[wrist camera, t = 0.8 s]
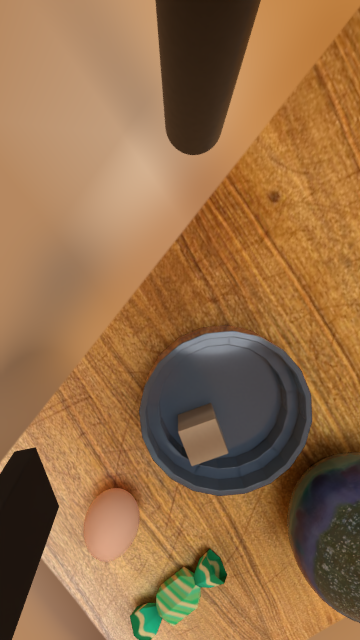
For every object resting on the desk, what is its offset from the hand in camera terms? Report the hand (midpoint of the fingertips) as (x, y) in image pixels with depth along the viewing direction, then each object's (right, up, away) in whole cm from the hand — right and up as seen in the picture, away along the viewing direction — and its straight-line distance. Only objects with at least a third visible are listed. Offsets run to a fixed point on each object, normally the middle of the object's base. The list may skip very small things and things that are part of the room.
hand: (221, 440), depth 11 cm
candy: (-2, -28, +27) cm, 39 cm away
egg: (-9, -17, +26) cm, 32 cm away
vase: (+17, -16, +26) cm, 35 cm away
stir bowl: (+3, -5, +24) cm, 25 cm away
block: (+1, -7, +24) cm, 25 cm away
